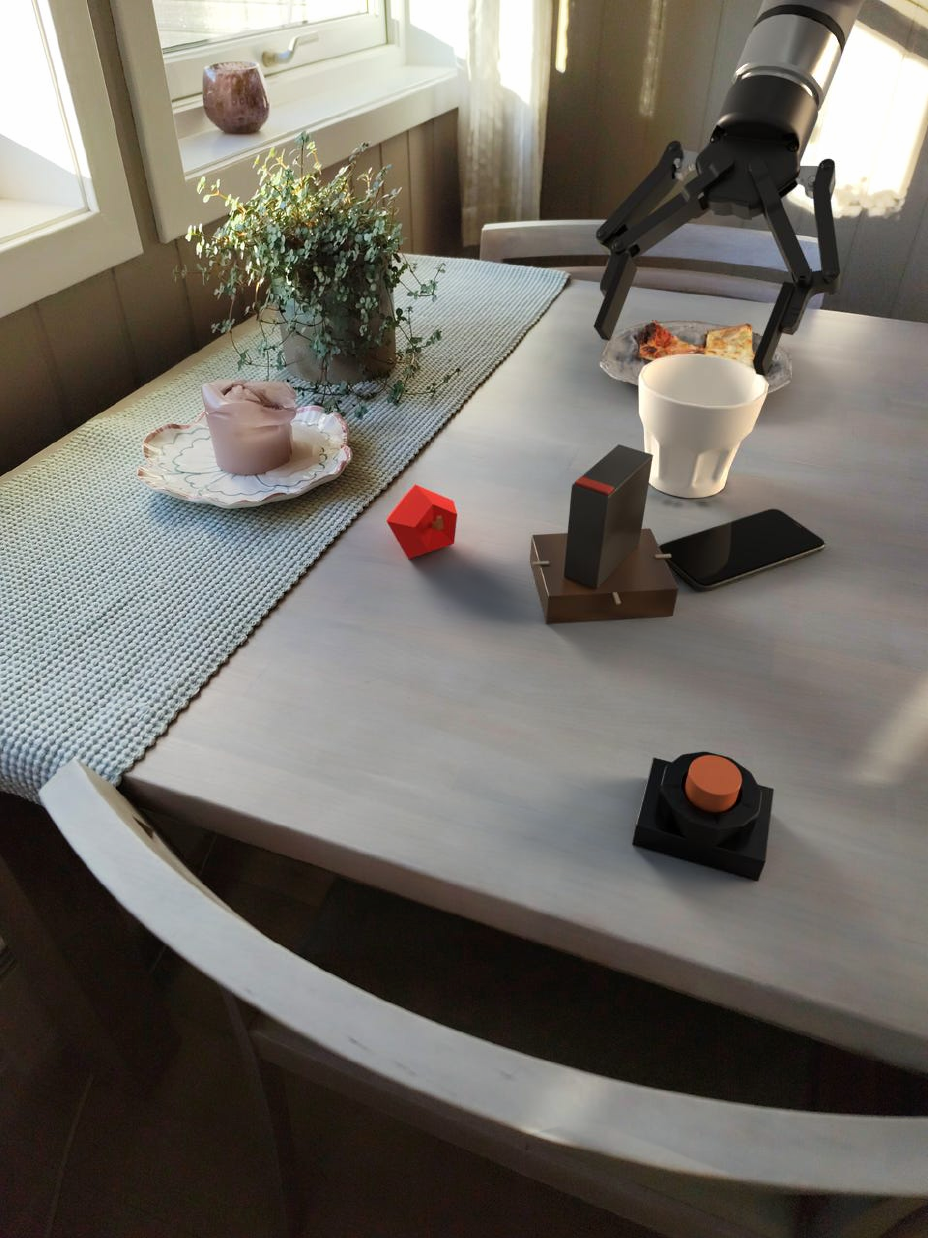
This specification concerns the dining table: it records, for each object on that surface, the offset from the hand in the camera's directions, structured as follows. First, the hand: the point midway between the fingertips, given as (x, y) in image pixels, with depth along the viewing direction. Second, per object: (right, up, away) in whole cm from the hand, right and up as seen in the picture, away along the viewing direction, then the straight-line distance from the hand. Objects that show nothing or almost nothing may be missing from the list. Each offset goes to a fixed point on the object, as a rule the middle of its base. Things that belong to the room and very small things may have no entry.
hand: (677, 351), depth 71 cm
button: (-2, -33, -16) cm, 37 cm away
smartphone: (+8, -16, +10) cm, 21 cm away
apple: (-21, -15, +11) cm, 29 cm away
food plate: (+12, +10, +41) cm, 44 cm away
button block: (-2, -36, -13) cm, 38 cm away
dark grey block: (-5, -17, +4) cm, 18 cm away
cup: (+6, -7, +21) cm, 23 cm away
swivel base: (-5, -19, +6) cm, 21 cm away
